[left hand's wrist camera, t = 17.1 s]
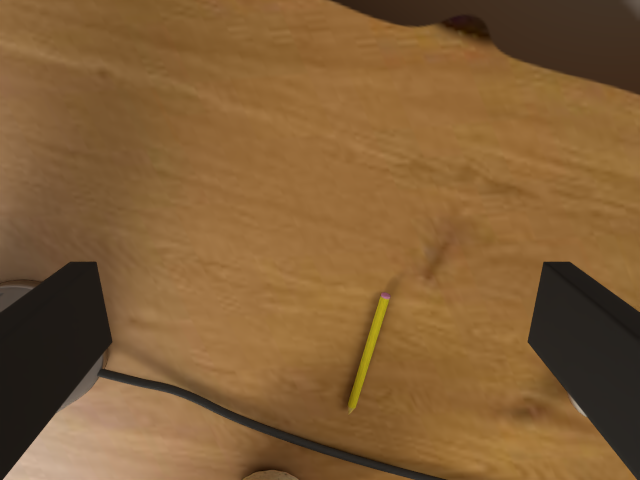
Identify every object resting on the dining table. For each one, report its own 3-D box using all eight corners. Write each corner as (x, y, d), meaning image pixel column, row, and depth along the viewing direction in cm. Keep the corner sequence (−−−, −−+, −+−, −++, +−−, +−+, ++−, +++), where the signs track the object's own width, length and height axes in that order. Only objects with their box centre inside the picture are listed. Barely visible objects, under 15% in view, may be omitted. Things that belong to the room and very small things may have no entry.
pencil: (380, 291, 46) (381, 296, 45) (389, 293, 46) (391, 297, 45) (344, 411, 51) (344, 417, 50) (352, 412, 51) (353, 419, 50)
